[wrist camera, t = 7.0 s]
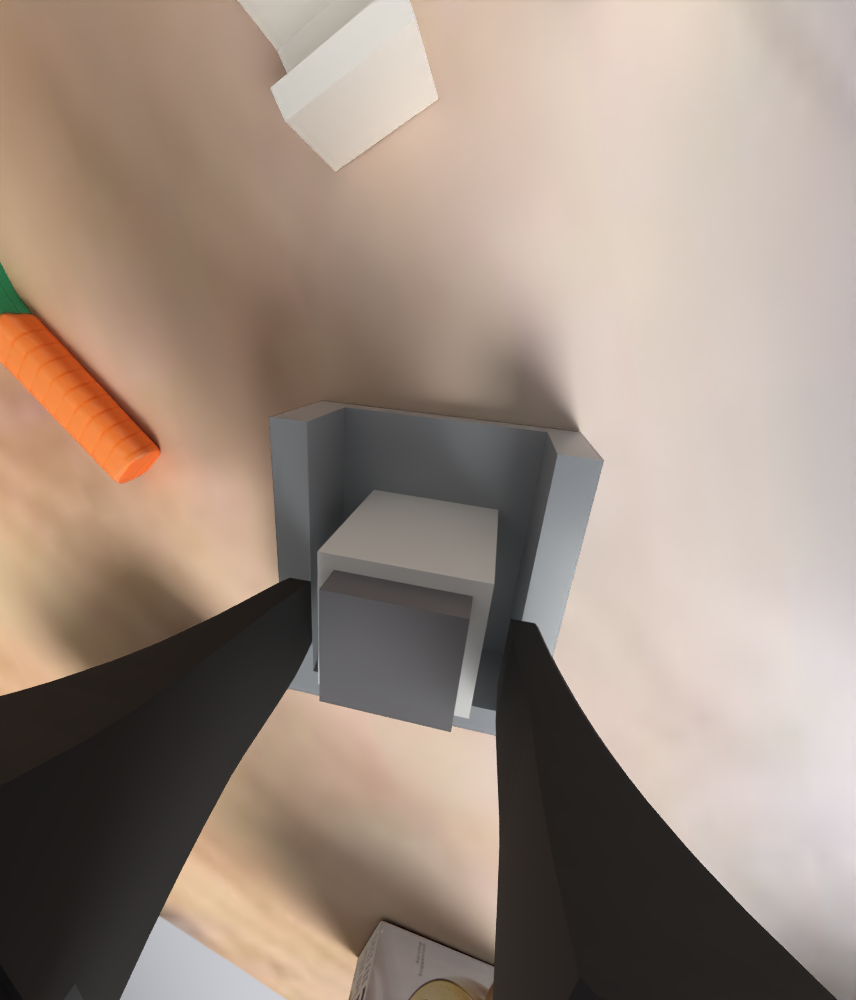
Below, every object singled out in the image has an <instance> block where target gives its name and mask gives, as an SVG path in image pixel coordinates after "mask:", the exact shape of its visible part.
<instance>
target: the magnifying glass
mask: <svg viewBox="0 0 856 1000" xmlns="http://www.w3.org/2000/svg"><path fill="white" fill-rule="evenodd" d="M0 362H1V363H2V364H3V365H4V366H5V367H6V368H7V369H8V370H9V371H10V372H11V373H12V374H13V375H14V376H15V377H16V378H17V379H18V380H19V381H20V382H21V383H22V384H23V386H24V387H25V388H26V389H27V390H28V391H29V392H30V393H31V394H32V395H33V396H34V397H35V398H36V399H37V400H38V401H39V402H40V403H41V404H42V405H43V406H44V407H45V408H46V409H47V410H48V412H49V413H50V414H51V415H52V416H53V417H54V418H55V419H56V420H57V421H58V422H59V423H60V424H61V425H62V426H63V427H64V428H65V429H66V430H67V431H68V432H69V433H70V435H71V436H72V437H73V438H74V439H75V440H76V441H77V442H78V443H79V444H80V445H81V446H82V447H83V448H84V449H85V450H86V451H87V452H88V454H89V455H90V456H92V457H93V458H94V460H95V461H96V462H97V463H98V464H99V465H100V466H101V467H102V468H103V469H104V470H105V471H106V472H107V473H108V474H109V475H110V477H111V478H112V479H113V480H114V481H116V482H117V483H125V482H128V481H130V480H132V479H134V478H136V477H138V476H140V475H142V474H143V473H144V472H146V471H147V470H148V469H149V468H150V467H151V465H152V464H153V463H154V462H155V461H156V460H157V458H158V457H159V455H160V450H159V449H158V447H157V446H156V445H155V444H154V443H153V442H152V441H151V440H150V439H149V437H148V436H147V435H146V434H145V433H144V432H143V431H142V430H141V429H140V428H139V427H138V426H137V425H136V424H135V423H134V422H133V420H132V419H131V418H130V417H129V416H128V415H127V414H126V413H125V412H124V411H123V410H122V409H121V408H120V406H119V405H118V404H117V403H116V402H115V401H114V400H113V399H112V398H111V397H110V396H109V395H108V393H107V392H106V391H105V390H104V389H103V388H102V387H101V386H100V385H99V384H98V383H97V382H96V380H95V379H94V378H93V377H92V376H91V375H90V374H89V373H88V372H87V371H86V370H85V369H84V368H83V366H82V365H81V364H80V363H79V362H78V361H77V360H76V359H75V358H74V357H73V356H72V355H71V354H70V352H69V351H68V350H67V349H66V348H65V347H64V346H63V345H62V344H61V343H60V342H59V341H58V339H57V338H56V337H55V336H54V335H53V334H52V333H51V332H50V331H49V330H48V329H47V328H46V326H45V325H44V324H43V323H42V322H41V321H40V320H39V319H38V318H37V317H35V316H34V315H32V314H31V312H30V311H29V310H28V308H27V307H26V306H25V305H24V303H23V302H22V301H21V299H20V298H19V296H18V295H17V293H16V291H15V289H14V288H13V286H12V284H11V282H10V280H9V278H8V276H7V274H6V273H5V271H4V269H3V267H2V265H1V263H0Z"/></svg>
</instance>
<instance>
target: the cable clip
mask: <svg viewBox="0 0 856 1000" xmlns="http://www.w3.org/2000/svg"><path fill="white" fill-rule="evenodd" d="M237 1H238V2H239V3H240V4H241V6H242V7H243V8H244V10H245V11H246V12H247V13H248V15H249V16H250V17H251V18H252V20H253V21H254V22H255V24H256V25H257V26H258V27H259V29H260V30H261V31H262V32H263V34H264V35H265V36H266V37H267V39H268V40H269V41H270V43H271V44H272V45H273V46H274V48H275V49H276V50H277V52H278V55H279V57H280V59H281V61H282V64H283V66H284V68H285V71H286V73H287V74H286V75H285V76H284V77H283V78H281V79H280V80H279V81H278V82H277V83H275V84H274V85H273V86H272V87H271V88H270V89H271V92H272V94H273V96H274V98H275V100H276V103H277V105H278V107H279V109H280V111H281V114H282V116H283V118H284V120H285V122H286V123H287V124H288V125H289V126H290V127H291V128H292V129H293V130H294V131H295V132H296V133H297V134H298V135H299V136H300V137H301V138H302V139H303V140H304V141H305V142H306V143H307V144H308V145H309V146H310V147H311V148H312V149H313V150H314V151H315V152H316V153H317V154H318V155H319V156H320V157H321V158H322V159H323V160H324V161H325V162H326V163H327V164H328V165H329V166H330V167H331V168H332V169H333V170H334V171H335V172H336V171H338V170H339V169H340V168H342V167H343V166H345V165H346V164H347V163H349V162H350V161H352V160H353V159H355V158H356V157H357V156H359V155H360V154H362V153H363V152H364V151H366V150H367V149H369V148H370V147H371V146H373V145H374V144H376V143H377V142H378V141H380V140H381V139H383V138H384V137H386V136H387V135H388V134H390V133H391V132H393V131H394V130H395V129H397V128H398V127H400V126H401V125H402V124H404V123H405V122H407V121H408V120H410V119H411V118H412V117H414V116H415V115H417V114H418V113H419V112H421V111H422V110H424V109H425V108H426V107H428V106H429V105H431V104H432V103H434V102H435V101H436V100H438V95H437V91H436V88H435V84H434V81H433V77H432V74H431V70H430V67H429V63H428V59H427V56H426V52H425V49H424V45H423V42H422V38H421V35H420V31H419V28H418V24H417V20H416V17H415V14H414V12H413V9H412V6H411V3H410V0H237Z"/></svg>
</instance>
